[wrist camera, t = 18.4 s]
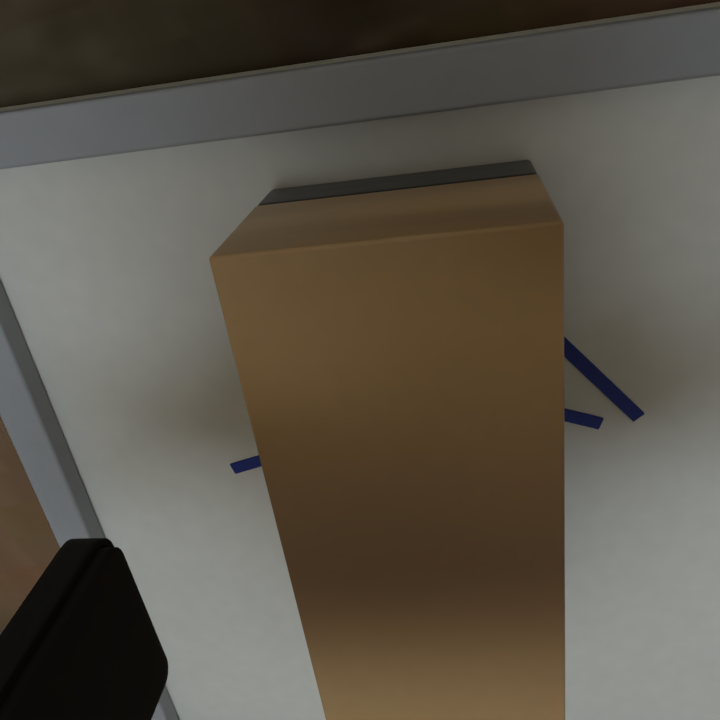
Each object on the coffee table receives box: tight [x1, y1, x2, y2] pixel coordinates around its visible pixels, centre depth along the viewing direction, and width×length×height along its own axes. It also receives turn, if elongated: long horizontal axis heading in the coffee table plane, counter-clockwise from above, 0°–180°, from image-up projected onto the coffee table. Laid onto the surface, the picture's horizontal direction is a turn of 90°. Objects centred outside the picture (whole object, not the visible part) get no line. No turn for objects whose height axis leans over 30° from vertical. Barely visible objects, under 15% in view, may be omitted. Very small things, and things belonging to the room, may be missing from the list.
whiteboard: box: [0, 2, 720, 720], centre depth 17 cm, size 20×20×2 cm
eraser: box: [209, 160, 565, 720], centre depth 14 cm, size 11×5×4 cm, turn 8°
